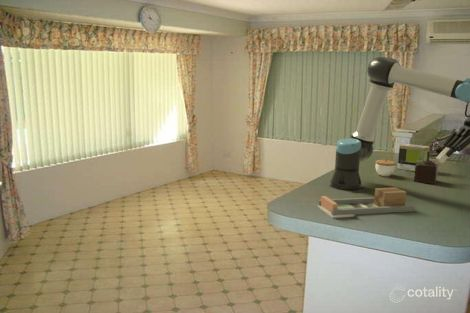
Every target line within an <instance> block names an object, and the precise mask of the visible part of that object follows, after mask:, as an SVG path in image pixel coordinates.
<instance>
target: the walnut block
mask: <svg viewBox="0 0 470 313" xmlns="http://www.w3.org/2000/svg"><path fill="white" fill-rule="evenodd" d="M373 197H374V205H376V206H378V207H385V206H404V205H406V201H407V191H405V190H403V189H401V188H398V187H380V188H379V187H377V188H375V189H374V196H373Z"/></svg>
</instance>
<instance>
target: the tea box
mask: <svg viewBox="0 0 470 313" xmlns="http://www.w3.org/2000/svg"><path fill="white" fill-rule="evenodd" d="M427 151H430V152H431V146H428V145H418V144H410V143H409V144H408V143H404V144H400V145H399V149H398V159H397V169H399V170H406V171H411V172H415V166H416V164H417V163H419V162H423V161H426V160H427Z"/></svg>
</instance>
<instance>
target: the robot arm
mask: <svg viewBox="0 0 470 313" xmlns="http://www.w3.org/2000/svg"><path fill="white" fill-rule="evenodd" d="M366 72H367V75H368V77H369V82H368V83H369V85H370V88H369V91H368V94H367V97H366V101H365V104H364V106H363V110H362V112H361V115H360V118H359V121H358V124H357V128H356V129H355V131H354V132H352V133H351V136H350V137H349V138H342V139H339V140H338V141H337V142H336V147H335V160H334V161H335V164H334V171H333V173H332V175H331V178H330V183H329V186H330V187H333V188H335V189H338V190H345V191H356V190H360V189H361V188H362V179H361V176H360V164H361V163H362V162H364V161H366V160H368V159H369V158H370V157H371V156H372V155H373V153H374V142H375V138H374V133H375V130H376V128H377V125H378V121H379V119H380V117H381V114H382V110H383V108H384V104H385V102H386V100H387V96H388V93H389V91H391V90H393V89H394V86H395V83H396V84H399V85H403V86H407V87H411V88H415V89H418V90H422V91H426V92H430V93H434V94H438V95H440V96H441V95H442V96H445V97H449V98H453V99H456V100H459V101H461V102H465V103H466V102H467V103H468V102H470V78H469V77H467V78H464V80H461V79H457V78H452V77H448V76H444V75H439V74H435V73H431V72H428V71H423V70H420V69H415V68H411V67H407V66H402V65H401V63H400V62H399V61H398V60H397V59H395V58H393V57H389V56H387V57H386V56H377V57H374V58H373V59H372V60H371V61H370V62H369V63H368V65H367V71H366ZM442 145H443V146H444V148H443V150H442V151H441V153H440V154H439V155H438V156H435V159H436V161H437V162H438V163H441V164H443V163H444V162H445V161H446V160H447V159H448V158H450V157H451V156H452V155H453V153H456V152H458V153H459V152H461V151H463V150H464V149H465V148H466V147H468V146H469V145H470V115H469V116H468V117H467V118H466V119H465V120H464V122H463V125H462V126H461V127H460V128H458V129H456V128H453V129H452V132H451V133H450V135H449V136H448V137H447V139H446V140H445V142H444V143H443V144H442Z"/></svg>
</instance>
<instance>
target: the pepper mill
mask: <svg viewBox="0 0 470 313" xmlns="http://www.w3.org/2000/svg"><path fill="white" fill-rule="evenodd" d="M443 149H444V148H443V147H440V146H438V147H436V148H435V152H436V153H435V154H431V150H430V151H427V160H426V161H423V162H419V163H417V164H416V166H415V171H414V178H413V182H416V183H422V184H426V185H427V184H428V185H436V184H437V183H438V182H439V180H438V177H439V171H440V170H439V168H440V163H435V162H436V161H432V160H430V157H435V158H436V157H437V156H438V155H439V154H440V153H441V151H442V150H443Z"/></svg>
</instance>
